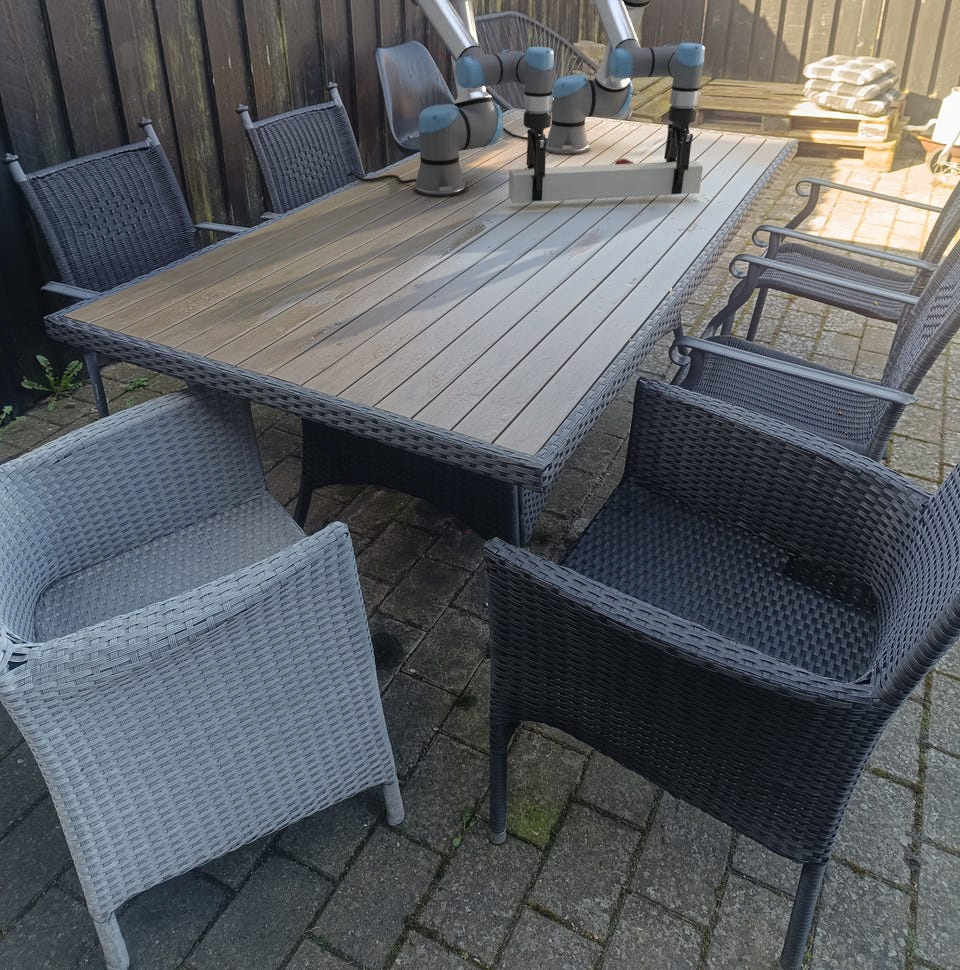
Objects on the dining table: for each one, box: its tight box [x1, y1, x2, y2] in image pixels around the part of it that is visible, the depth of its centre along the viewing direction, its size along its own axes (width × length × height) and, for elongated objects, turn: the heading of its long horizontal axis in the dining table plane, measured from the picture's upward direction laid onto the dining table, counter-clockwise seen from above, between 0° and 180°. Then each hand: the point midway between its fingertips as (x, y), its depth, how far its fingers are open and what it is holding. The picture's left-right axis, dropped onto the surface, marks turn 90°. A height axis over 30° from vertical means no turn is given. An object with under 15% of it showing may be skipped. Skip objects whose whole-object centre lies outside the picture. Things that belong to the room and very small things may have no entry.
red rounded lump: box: [614, 158, 635, 165], centre depth 272 cm, size 6×4×8 cm
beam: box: [508, 160, 704, 204], centre depth 244 cm, size 56×6×8 cm, turn 99°
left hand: (534, 196), depth 243 cm, fingers closed on beam, 6 cm apart
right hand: (672, 189), depth 249 cm, fingers closed on beam, 6 cm apart
